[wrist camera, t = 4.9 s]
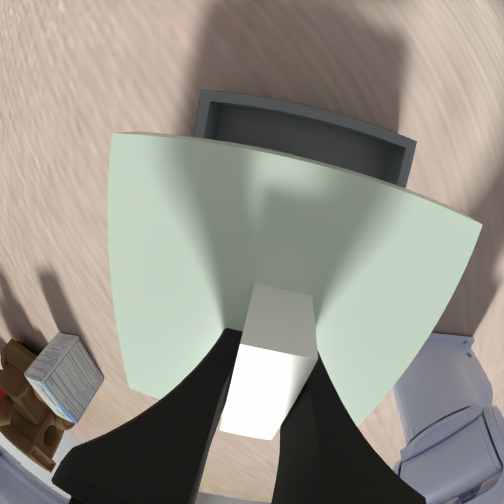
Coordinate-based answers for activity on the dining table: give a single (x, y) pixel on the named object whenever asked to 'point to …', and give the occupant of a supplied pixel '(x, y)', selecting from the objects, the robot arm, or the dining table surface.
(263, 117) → the tub
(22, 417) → the wooden toy train
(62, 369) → the medicine box
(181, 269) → the lid
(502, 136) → the dining table surface
